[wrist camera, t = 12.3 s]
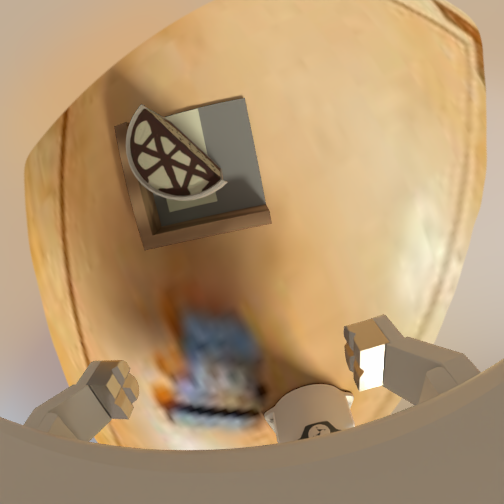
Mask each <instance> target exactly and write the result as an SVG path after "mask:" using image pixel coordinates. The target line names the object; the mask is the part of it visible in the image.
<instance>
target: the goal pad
mask: <svg viewBox="0 0 504 504" xmlns="http://www.w3.org/2000/svg"><path fill="white" fill-rule="evenodd" d="M164 118H166V119H168V120H169V121H171V122H172V123H173V124H174V125H175V126H176V127H178V128H179V129H180V130H181V131H182V132H183V133H184V134H185V135H186V136H187V137H188V138H190V139H191V140H192V141H193V142H194V143H195V144H196V145H197V146H198V147H199V148H200V149H201V150H202V151H203V152H205V153H206V154H207V151H206V146H205V141H204V136H203V132H202V127H201V122H200V117H199V112H198V108H197V109H193V110H190V111H186V112H182V113H178V114H175V115H171V116H168V117H164ZM166 200H167V204H168V208H169V212H173V211H177V210H181V209H185V208H190V207H194V206H198V205H203V204H207V203H212V202H216V201H217V197H216V192H214V193H212V194H210V195H208V196H206V197H203V198H199V199H196V200H188V201H180V200H172V199H167V198H166Z"/></svg>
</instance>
